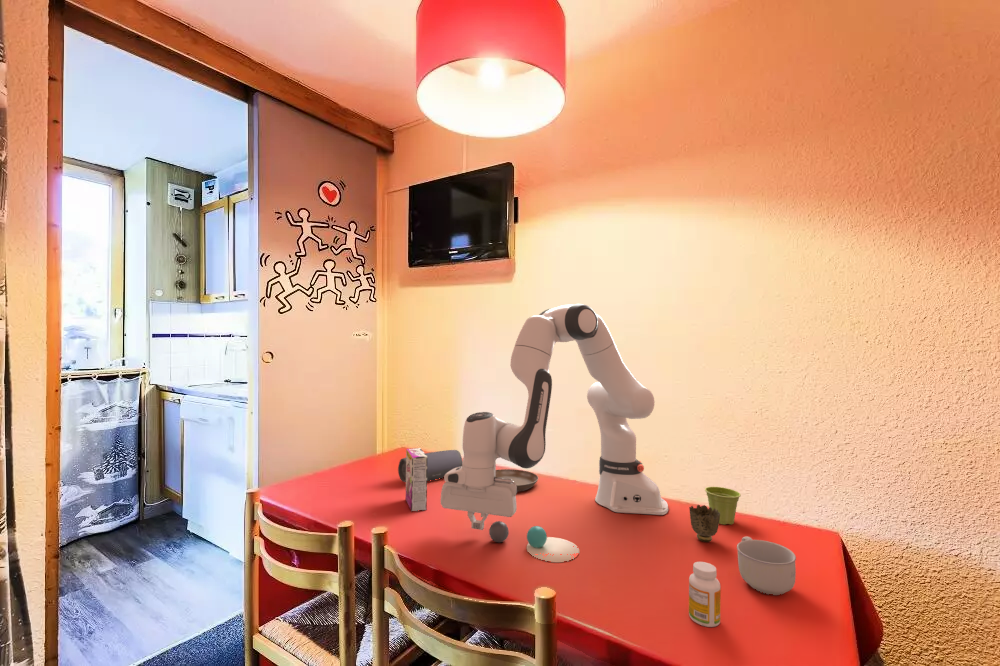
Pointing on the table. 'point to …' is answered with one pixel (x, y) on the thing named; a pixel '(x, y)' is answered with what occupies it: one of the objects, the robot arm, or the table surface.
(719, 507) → the plant pot
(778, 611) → the table surface
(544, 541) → the teal ball
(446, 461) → the bluetooth speaker
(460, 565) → the table surface
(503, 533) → the gray ball
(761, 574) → the teacup
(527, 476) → the plant saucer
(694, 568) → the supplement bottle
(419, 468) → the candy bar box
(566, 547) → the cream mark
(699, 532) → the cup
